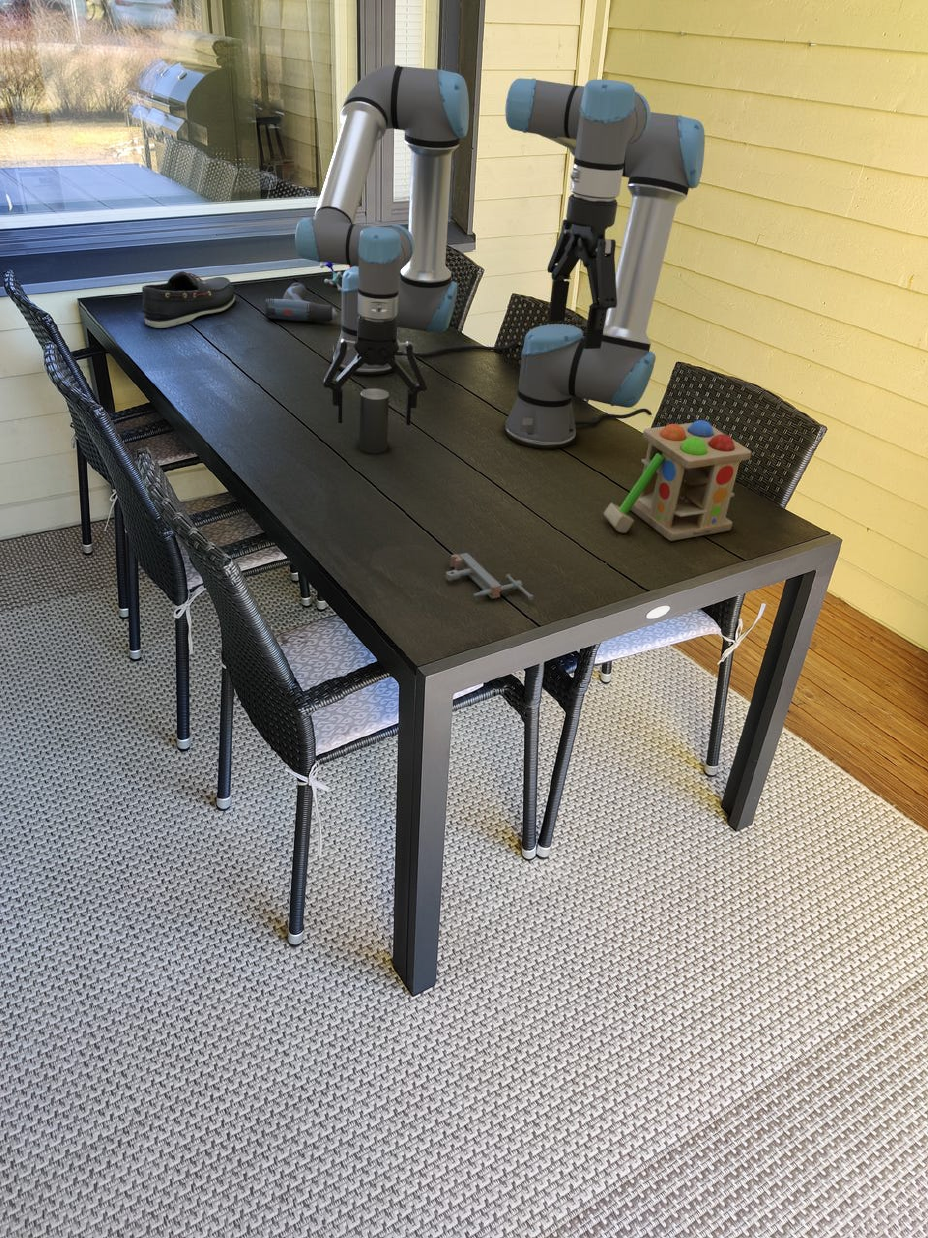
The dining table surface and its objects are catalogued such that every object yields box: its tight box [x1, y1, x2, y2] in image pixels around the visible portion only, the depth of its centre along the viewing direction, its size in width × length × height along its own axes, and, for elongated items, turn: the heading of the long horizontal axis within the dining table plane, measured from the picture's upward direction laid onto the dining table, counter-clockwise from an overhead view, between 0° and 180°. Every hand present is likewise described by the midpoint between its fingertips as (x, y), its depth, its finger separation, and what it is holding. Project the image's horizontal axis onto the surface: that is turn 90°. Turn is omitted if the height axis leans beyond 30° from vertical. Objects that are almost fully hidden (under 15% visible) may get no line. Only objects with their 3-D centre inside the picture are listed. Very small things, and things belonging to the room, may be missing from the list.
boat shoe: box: [141, 270, 236, 329], centre depth 257 cm, size 13×33×10 cm, turn 147°
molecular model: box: [319, 262, 353, 292], centre depth 287 cm, size 12×10×10 cm
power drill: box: [264, 282, 338, 322], centre depth 265 cm, size 5×19×20 cm
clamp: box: [445, 552, 535, 601], centre depth 158 cm, size 15×2×10 cm
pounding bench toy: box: [603, 419, 753, 542], centre depth 178 cm, size 23×14×18 cm, turn 116°
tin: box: [358, 388, 390, 455], centre depth 196 cm, size 6×6×12 cm
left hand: (374, 421), depth 197 cm, fingers open, 13 cm apart
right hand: (573, 333), depth 161 cm, fingers open, 13 cm apart
